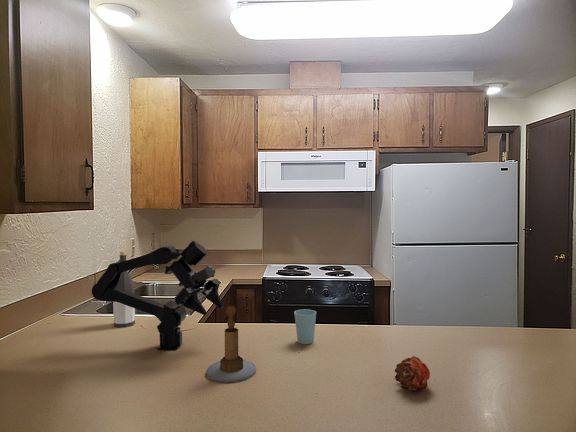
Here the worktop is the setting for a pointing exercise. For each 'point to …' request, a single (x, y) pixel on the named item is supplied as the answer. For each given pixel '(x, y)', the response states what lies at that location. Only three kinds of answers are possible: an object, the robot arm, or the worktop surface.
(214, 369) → the mat
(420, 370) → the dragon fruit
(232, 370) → the wooden pepper mill
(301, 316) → the cup
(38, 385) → the worktop surface
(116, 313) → the wine bottle
